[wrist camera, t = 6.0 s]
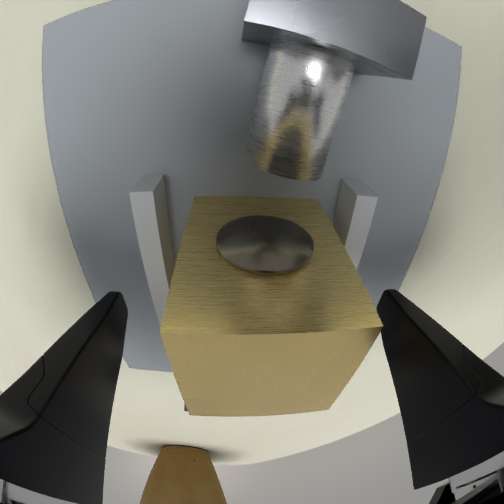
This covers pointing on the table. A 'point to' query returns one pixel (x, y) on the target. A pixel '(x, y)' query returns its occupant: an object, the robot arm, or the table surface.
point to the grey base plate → (221, 147)
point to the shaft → (319, 72)
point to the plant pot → (183, 478)
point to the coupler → (264, 309)
